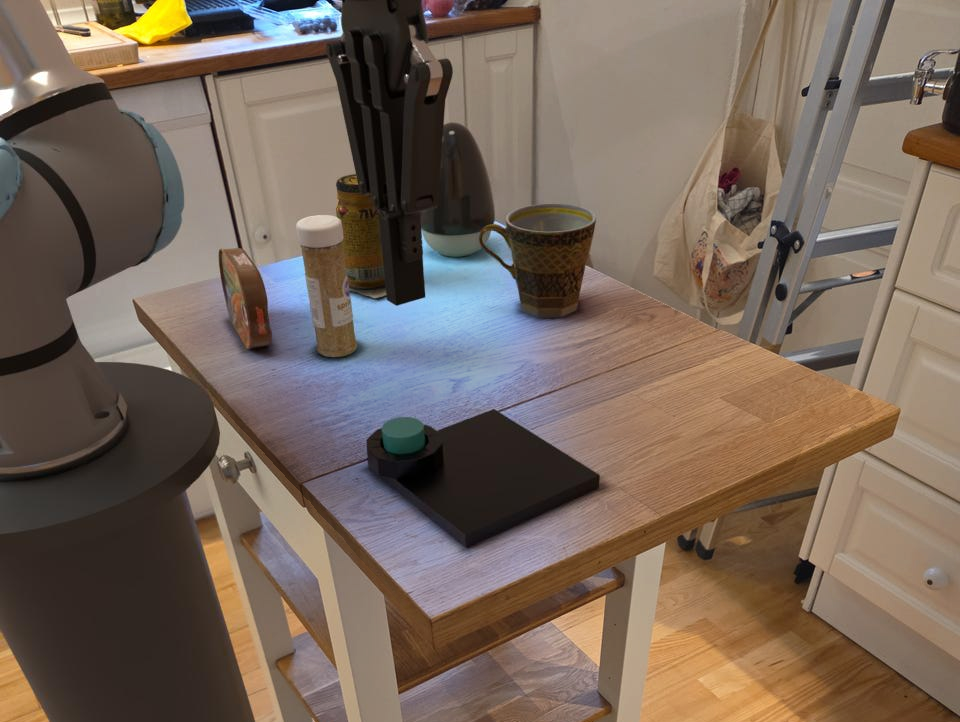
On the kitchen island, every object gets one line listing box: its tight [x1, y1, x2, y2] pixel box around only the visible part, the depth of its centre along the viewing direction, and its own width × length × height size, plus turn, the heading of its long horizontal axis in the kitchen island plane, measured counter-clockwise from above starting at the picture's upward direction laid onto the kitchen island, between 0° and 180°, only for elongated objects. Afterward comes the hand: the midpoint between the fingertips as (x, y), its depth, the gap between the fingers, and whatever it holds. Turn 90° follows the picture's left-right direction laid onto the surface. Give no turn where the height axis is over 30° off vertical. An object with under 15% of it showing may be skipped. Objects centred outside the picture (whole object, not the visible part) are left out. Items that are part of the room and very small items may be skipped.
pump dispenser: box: [421, 121, 496, 258], centre depth 113 cm, size 10×10×15 cm
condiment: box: [335, 173, 386, 299], centre depth 106 cm, size 7×8×12 cm
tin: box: [218, 247, 273, 350], centre depth 98 cm, size 15×3×8 cm, turn 23°
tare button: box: [381, 416, 425, 454], centre depth 75 cm, size 4×4×2 cm
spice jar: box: [295, 214, 358, 358], centre depth 92 cm, size 5×5×14 cm
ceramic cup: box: [479, 203, 597, 319], centre depth 100 cm, size 13×10×10 cm
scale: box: [365, 408, 601, 548], centre depth 76 cm, size 16×15×3 cm
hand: (406, 298), depth 70 cm, fingers closed
